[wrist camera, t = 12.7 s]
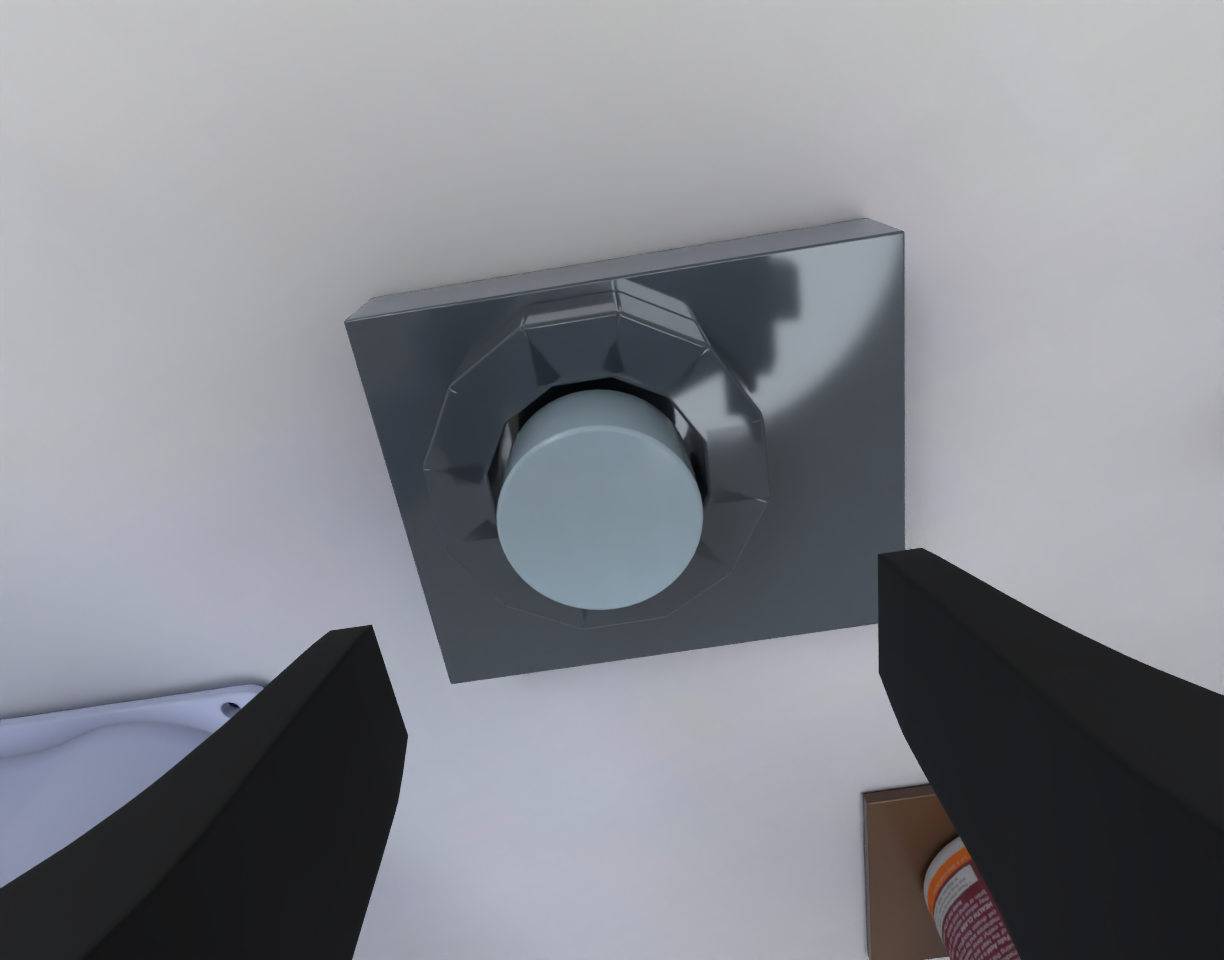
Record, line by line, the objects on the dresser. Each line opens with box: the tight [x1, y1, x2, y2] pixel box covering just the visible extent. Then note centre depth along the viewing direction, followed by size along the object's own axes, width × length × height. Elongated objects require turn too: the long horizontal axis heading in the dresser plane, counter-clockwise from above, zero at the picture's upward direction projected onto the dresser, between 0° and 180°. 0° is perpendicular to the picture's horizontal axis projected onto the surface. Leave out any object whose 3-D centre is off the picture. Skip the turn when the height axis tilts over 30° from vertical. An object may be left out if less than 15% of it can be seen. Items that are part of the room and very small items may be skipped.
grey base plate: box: [344, 218, 905, 684], centre depth 18 cm, size 11×9×4 cm
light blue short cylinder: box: [496, 389, 704, 610], centre depth 15 cm, size 4×4×2 cm
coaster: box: [863, 785, 959, 960], centre depth 25 cm, size 8×8×1 cm
